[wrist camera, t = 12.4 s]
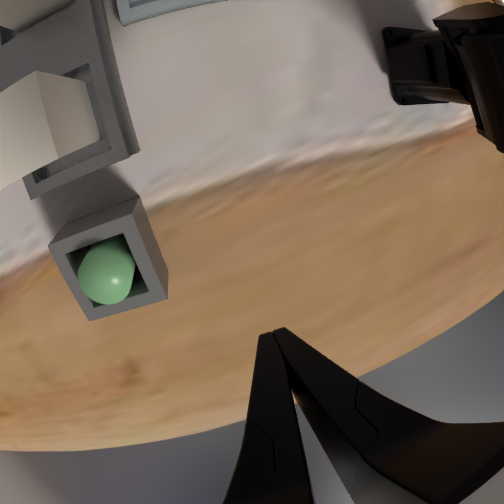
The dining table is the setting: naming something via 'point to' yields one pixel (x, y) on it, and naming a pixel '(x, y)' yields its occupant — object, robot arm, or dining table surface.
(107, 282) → the button
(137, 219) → the grey square tube
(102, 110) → the tray
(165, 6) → the blue-grey square tray
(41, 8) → the block
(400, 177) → the dining table surface
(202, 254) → the dining table surface
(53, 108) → the seated billet
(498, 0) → the teapot
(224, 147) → the dining table surface
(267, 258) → the dining table surface
